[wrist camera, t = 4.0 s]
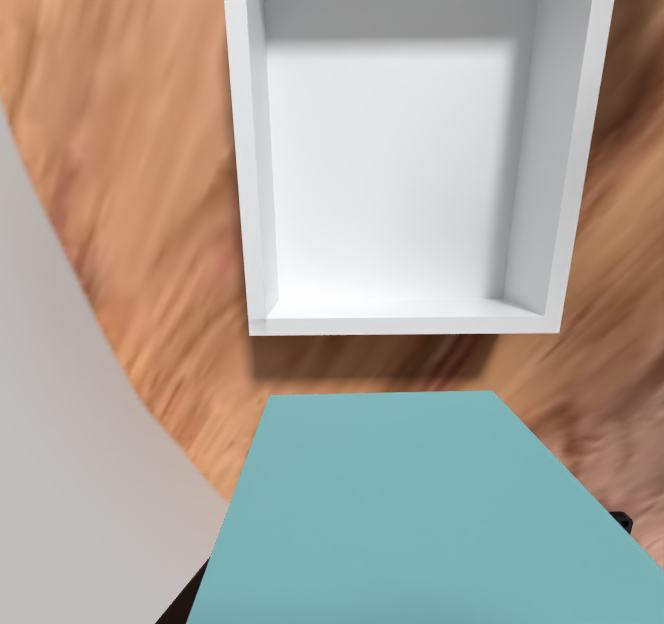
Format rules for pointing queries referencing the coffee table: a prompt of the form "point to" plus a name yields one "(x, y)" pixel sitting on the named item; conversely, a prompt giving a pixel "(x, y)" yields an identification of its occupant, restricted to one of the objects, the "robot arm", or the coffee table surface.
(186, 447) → the coffee table surface
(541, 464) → the teal cube
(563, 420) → the coffee table surface
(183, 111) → the coffee table surface
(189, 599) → the robot arm
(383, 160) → the tote
